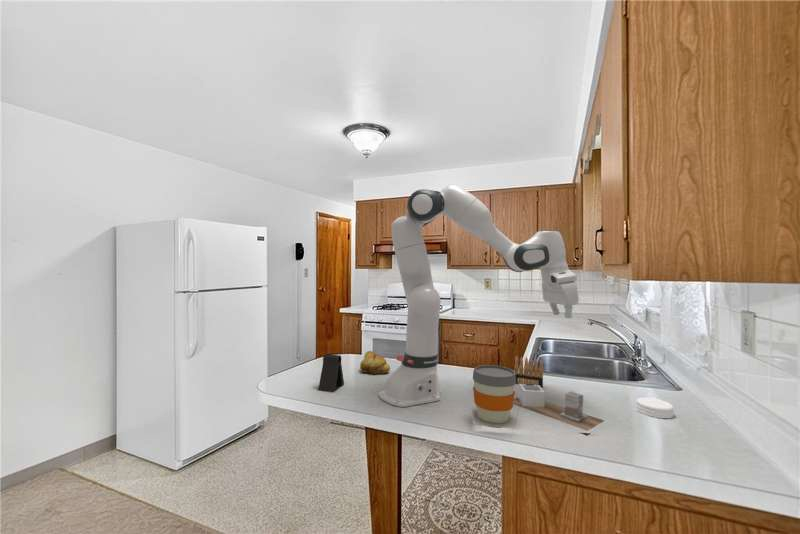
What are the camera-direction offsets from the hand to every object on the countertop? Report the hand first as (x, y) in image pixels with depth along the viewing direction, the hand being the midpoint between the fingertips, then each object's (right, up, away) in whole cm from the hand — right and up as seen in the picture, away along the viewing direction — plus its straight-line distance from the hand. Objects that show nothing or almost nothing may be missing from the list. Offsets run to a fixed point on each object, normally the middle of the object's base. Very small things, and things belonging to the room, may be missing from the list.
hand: (562, 316), depth 126 cm
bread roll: (-66, -28, +30) cm, 78 cm away
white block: (-12, -28, -5) cm, 31 cm away
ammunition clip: (-7, -30, +14) cm, 33 cm away
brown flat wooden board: (-8, -30, -11) cm, 32 cm away
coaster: (+27, -31, -6) cm, 42 cm away
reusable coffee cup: (-28, -29, -16) cm, 44 cm away
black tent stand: (-81, -28, +9) cm, 86 cm away
